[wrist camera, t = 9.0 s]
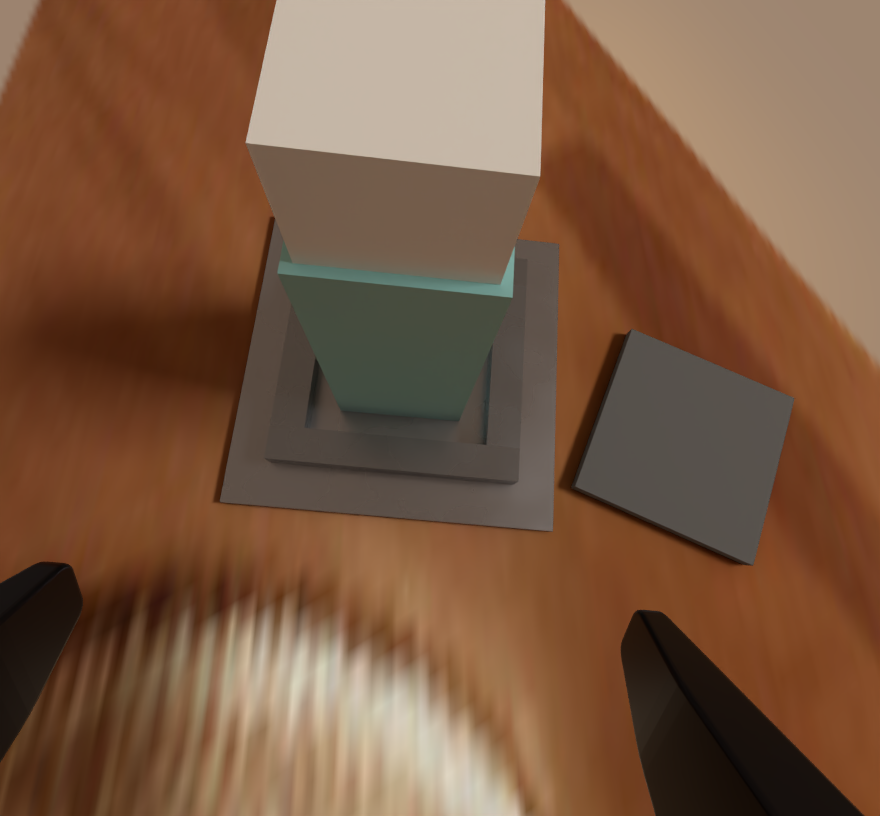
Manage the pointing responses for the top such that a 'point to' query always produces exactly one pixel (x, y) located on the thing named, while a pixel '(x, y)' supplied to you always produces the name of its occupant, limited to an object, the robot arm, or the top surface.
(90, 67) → the top surface
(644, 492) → the pad
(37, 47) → the top surface
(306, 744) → the top surface
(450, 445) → the socket
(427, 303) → the peg
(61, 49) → the top surface
